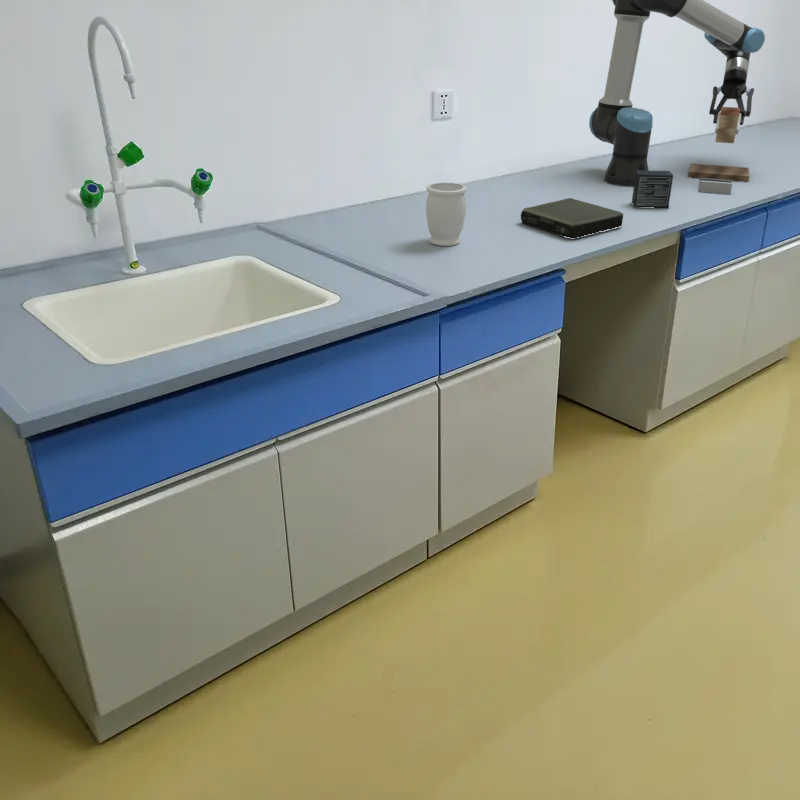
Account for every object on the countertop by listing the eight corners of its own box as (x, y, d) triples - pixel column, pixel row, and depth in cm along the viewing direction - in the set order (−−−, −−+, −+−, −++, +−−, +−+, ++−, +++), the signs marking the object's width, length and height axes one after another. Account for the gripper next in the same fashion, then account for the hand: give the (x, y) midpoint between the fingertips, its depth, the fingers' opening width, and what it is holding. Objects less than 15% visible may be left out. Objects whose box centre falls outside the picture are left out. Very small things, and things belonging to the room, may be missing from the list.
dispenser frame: (698, 191, 269) (700, 181, 267) (699, 185, 277) (700, 174, 275) (730, 194, 266) (732, 183, 264) (730, 187, 274) (732, 177, 272)
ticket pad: (715, 142, 282) (721, 109, 277) (715, 139, 287) (721, 106, 281) (733, 143, 281) (740, 110, 275) (733, 140, 285) (739, 107, 280)
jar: (462, 236, 226) (464, 181, 218) (466, 247, 217) (468, 191, 209) (424, 236, 225) (425, 182, 218) (426, 248, 216) (427, 191, 209)
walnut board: (687, 177, 286) (688, 171, 285) (689, 168, 298) (690, 163, 297) (748, 182, 281) (749, 176, 280) (747, 173, 292) (748, 167, 291)
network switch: (627, 227, 235) (630, 210, 232) (581, 244, 220) (583, 226, 218) (561, 211, 249) (562, 195, 247) (513, 226, 235) (514, 209, 233)
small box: (664, 203, 256) (670, 170, 251) (668, 209, 250) (674, 175, 245) (630, 202, 257) (635, 169, 252) (634, 208, 251) (638, 174, 246)
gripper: (762, 83, 285) (754, 139, 279) (705, 80, 291) (696, 136, 285) (766, 68, 278) (758, 126, 273) (708, 66, 284) (698, 123, 278)
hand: (726, 131), depth 279 cm, fingers closed on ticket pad, 6 cm apart
